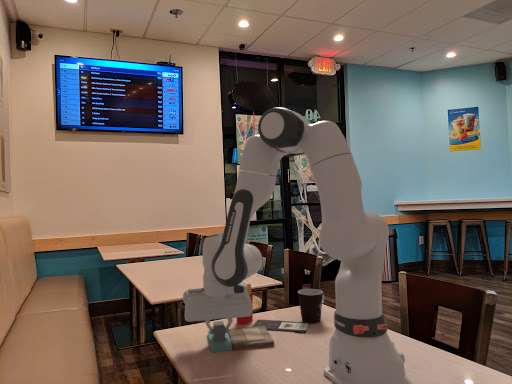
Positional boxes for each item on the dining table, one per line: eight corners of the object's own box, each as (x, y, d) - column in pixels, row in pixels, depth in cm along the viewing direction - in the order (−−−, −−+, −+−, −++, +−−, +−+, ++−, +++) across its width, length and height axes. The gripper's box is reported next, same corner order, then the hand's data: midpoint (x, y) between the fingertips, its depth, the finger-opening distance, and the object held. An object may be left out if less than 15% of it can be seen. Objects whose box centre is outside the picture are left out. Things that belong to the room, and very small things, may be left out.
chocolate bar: (257, 319, 134) (309, 322, 129) (258, 322, 134) (309, 325, 129) (250, 328, 125) (305, 331, 120) (250, 330, 125) (305, 334, 120)
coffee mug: (313, 326, 126) (312, 296, 126) (293, 320, 133) (292, 292, 133) (334, 318, 134) (333, 290, 134) (314, 313, 141) (314, 286, 141)
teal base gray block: (232, 350, 108) (231, 331, 108) (210, 352, 107) (210, 333, 107) (226, 333, 122) (226, 316, 122) (207, 334, 121) (207, 318, 121)
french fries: (244, 317, 138) (243, 281, 138) (255, 318, 136) (254, 282, 136) (233, 325, 130) (232, 287, 130) (244, 327, 128) (243, 288, 128)
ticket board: (274, 346, 110) (274, 340, 110) (233, 350, 108) (233, 344, 108) (264, 330, 124) (264, 325, 124) (227, 333, 122) (227, 328, 122)
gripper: (182, 291, 110) (184, 340, 109) (252, 286, 113) (254, 333, 113) (182, 287, 116) (184, 332, 116) (249, 282, 120) (250, 326, 119)
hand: (219, 333), depth 114 cm, fingers closed on teal base gray block, 3 cm apart
